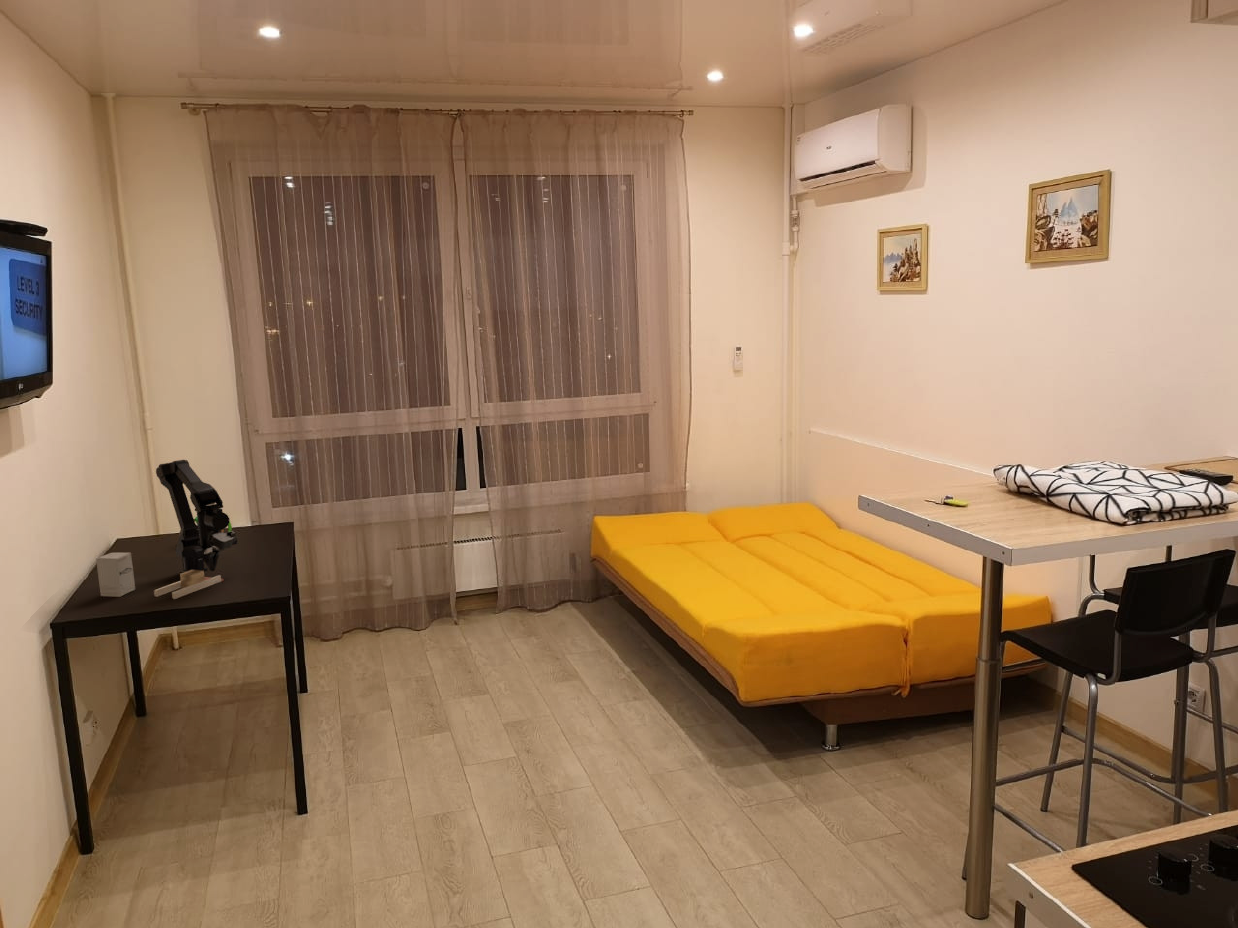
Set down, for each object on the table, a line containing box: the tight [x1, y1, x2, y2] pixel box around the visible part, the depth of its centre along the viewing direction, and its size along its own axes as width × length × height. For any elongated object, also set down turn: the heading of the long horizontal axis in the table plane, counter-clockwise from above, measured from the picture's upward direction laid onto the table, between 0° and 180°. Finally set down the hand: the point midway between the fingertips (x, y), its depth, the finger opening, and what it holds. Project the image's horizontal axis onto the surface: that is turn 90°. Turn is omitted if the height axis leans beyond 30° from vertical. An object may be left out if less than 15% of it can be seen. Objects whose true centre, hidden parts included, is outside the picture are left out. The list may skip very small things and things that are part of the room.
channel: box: [153, 574, 225, 600], centre depth 306 cm, size 9×20×2 cm, turn 158°
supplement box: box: [95, 552, 136, 598], centre depth 303 cm, size 7×7×13 cm
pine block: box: [179, 570, 206, 589], centre depth 308 cm, size 5×5×5 cm
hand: (212, 570), depth 315 cm, fingers closed
